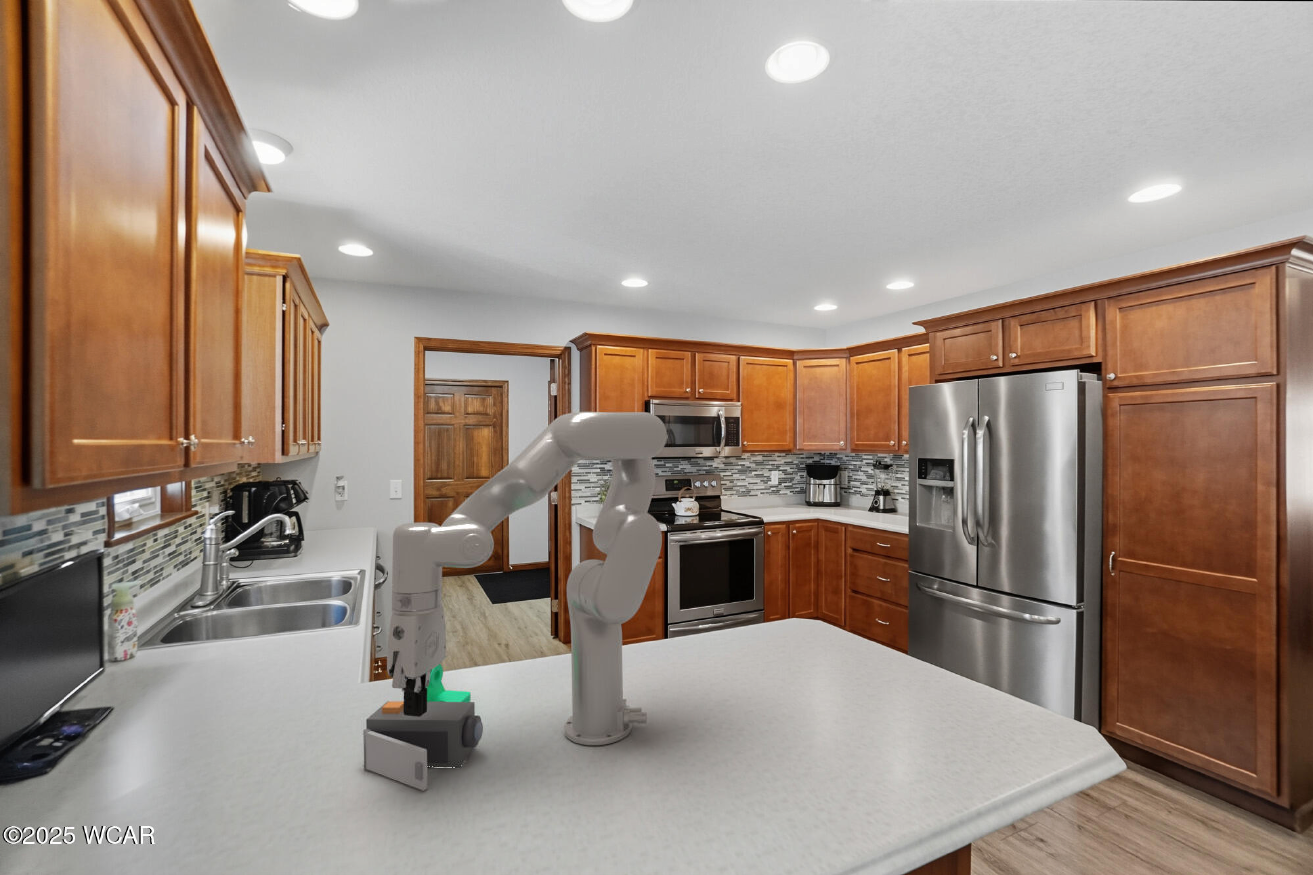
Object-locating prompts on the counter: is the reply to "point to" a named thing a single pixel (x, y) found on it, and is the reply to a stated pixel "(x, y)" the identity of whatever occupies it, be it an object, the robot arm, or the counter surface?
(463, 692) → the camera mount
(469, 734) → the camera body
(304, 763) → the counter surface
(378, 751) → the door
